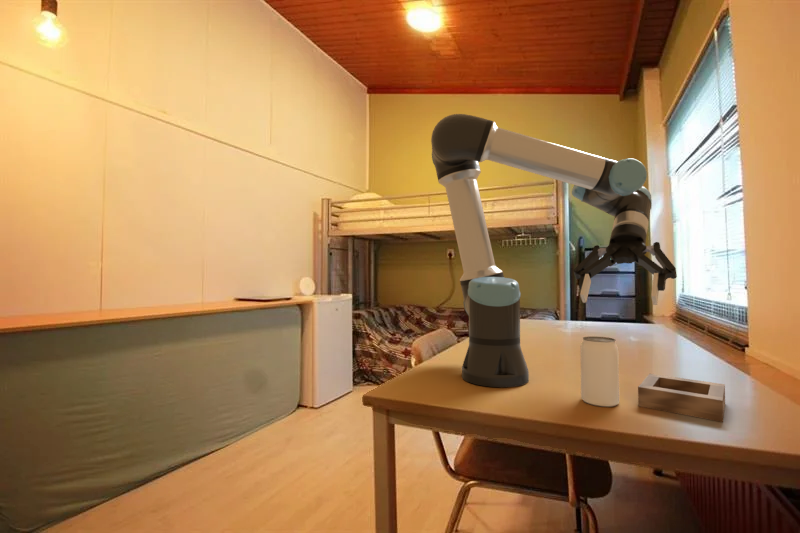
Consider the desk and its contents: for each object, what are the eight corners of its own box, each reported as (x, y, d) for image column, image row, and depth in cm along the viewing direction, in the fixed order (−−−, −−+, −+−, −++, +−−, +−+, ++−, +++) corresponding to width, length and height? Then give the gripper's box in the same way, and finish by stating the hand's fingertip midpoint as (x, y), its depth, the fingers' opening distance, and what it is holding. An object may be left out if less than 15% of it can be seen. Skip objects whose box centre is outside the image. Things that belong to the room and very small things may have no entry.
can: (624, 408, 70) (623, 342, 71) (586, 406, 72) (585, 341, 72) (612, 397, 77) (611, 336, 77) (577, 395, 78) (576, 335, 78)
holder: (638, 405, 72) (638, 386, 72) (649, 390, 81) (649, 373, 81) (722, 422, 64) (722, 400, 64) (725, 403, 73) (724, 384, 73)
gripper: (693, 241, 89) (690, 313, 78) (578, 248, 106) (561, 308, 94) (690, 216, 85) (687, 288, 74) (571, 227, 102) (553, 287, 90)
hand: (616, 299), depth 84 cm, fingers open, 13 cm apart
